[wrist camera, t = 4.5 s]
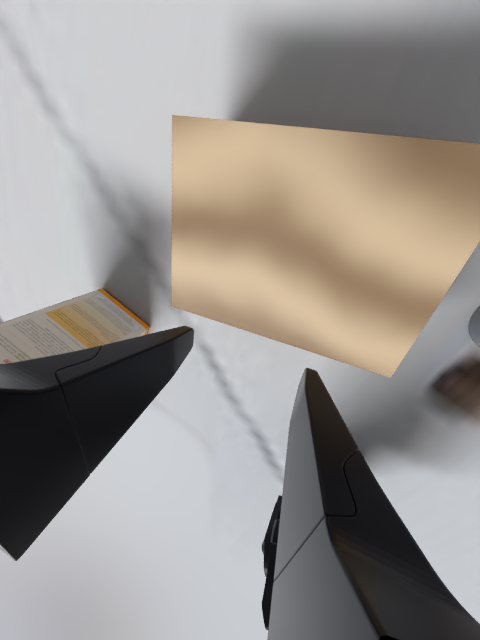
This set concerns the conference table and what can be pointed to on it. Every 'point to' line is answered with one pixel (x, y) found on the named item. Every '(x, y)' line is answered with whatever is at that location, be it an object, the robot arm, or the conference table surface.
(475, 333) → the grey cylinder cream end
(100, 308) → the supplement box
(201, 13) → the conference table surface
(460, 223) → the lid
